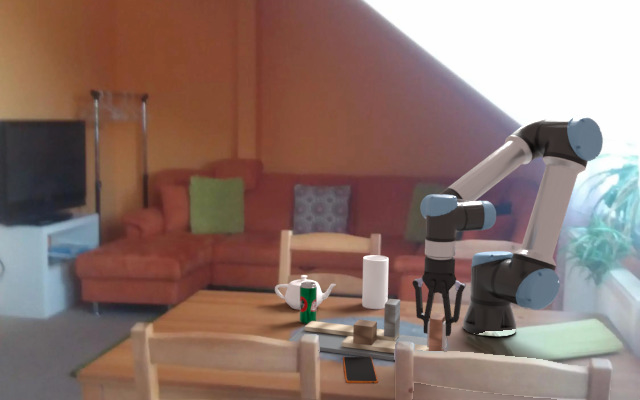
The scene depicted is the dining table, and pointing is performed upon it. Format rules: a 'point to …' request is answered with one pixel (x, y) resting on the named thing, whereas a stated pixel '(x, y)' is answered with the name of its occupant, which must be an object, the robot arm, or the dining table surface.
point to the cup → (375, 282)
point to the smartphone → (359, 370)
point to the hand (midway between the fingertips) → (436, 346)
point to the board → (335, 345)
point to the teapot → (294, 292)
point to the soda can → (308, 302)
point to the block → (365, 332)
